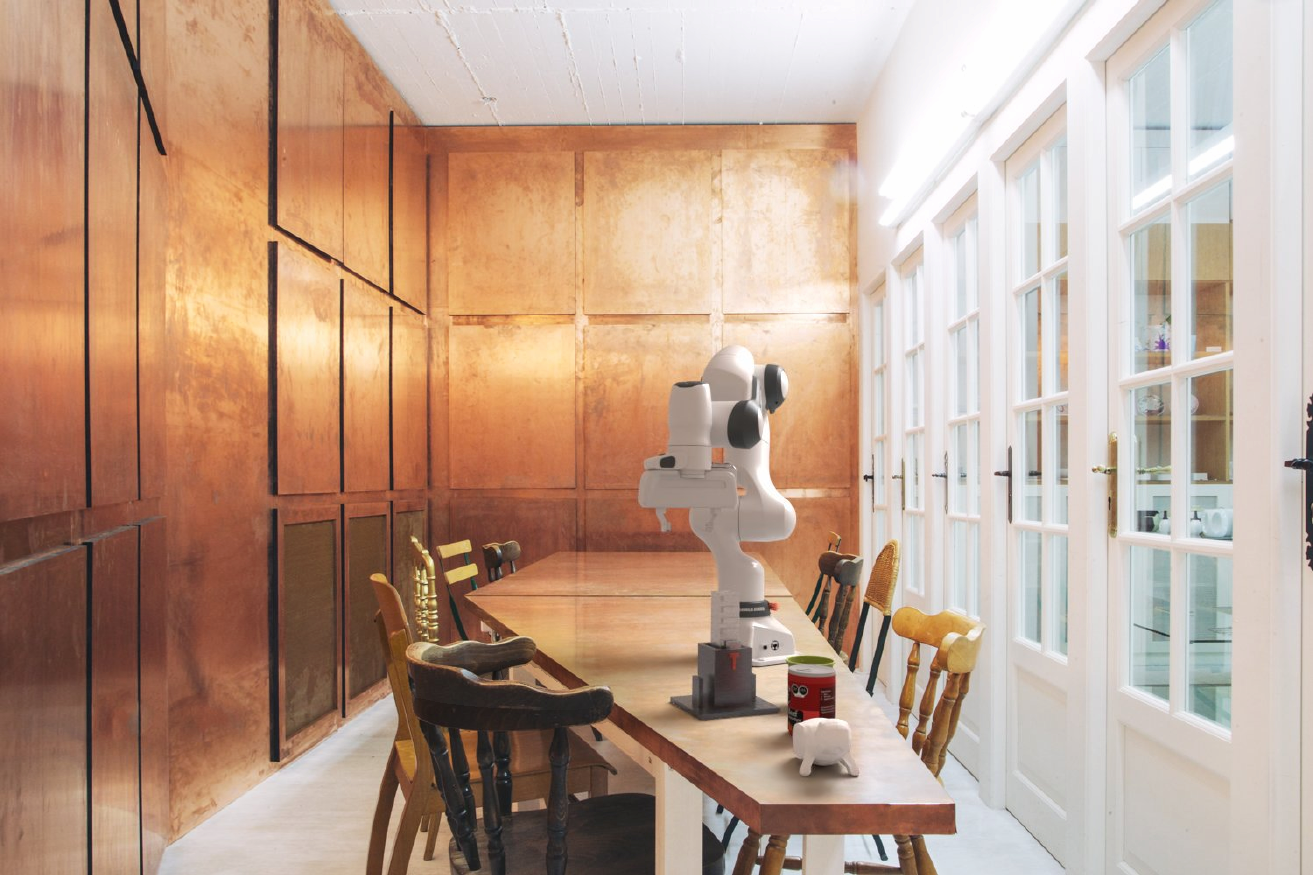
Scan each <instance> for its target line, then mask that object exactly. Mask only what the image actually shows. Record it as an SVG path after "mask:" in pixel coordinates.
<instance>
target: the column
mask: <svg viewBox="0 0 1313 875" xmlns="http://www.w3.org/2000/svg"><path fill="white" fill-rule="evenodd" d="M734 640H738V641H739V593H738V592H735V591H731V590H724V591H718V590H711V591H710V642H711V644H710V646H711V647H713V648H715V649H726V641H734Z"/></svg>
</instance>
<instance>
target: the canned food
mask: <svg viewBox="0 0 1313 875" xmlns="http://www.w3.org/2000/svg"><path fill="white" fill-rule="evenodd" d="M836 673H837V672H836V669H835V668H834V667H833V668H831V667H828V666H823V665H815V664H798V665H792V666H790V667H788V666H787V731H788V734H789V735H790V736H791V737H793V728H794V725H795V724H796V723H801V722H803V721H806V720H809V719H814V718H826V719H836V715H837V714H836V701H837V698H836V697H837V696H836V694H837V689H836V688H837V682H836V681H837V679H836V677H837V676H836Z"/></svg>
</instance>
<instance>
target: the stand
mask: <svg viewBox="0 0 1313 875" xmlns="http://www.w3.org/2000/svg"><path fill="white" fill-rule="evenodd" d="M710 644H711V641H710V642H698V643H697V674H694V675H692V678H691V679H692V683H691V689H692V690H691V692H692V693H691V694H687V695H676V696H670V699H669V700H670V701H669V702H670V703H671V704H673V703H674V704H675V706H676V705H677V706H676V707H678V708H679V707H680V708H679V709H681V710H683V711H684V710H685V712H686V713H687V712H688V713H687V714H689V715H691V716H693V717H694V718H695V719H697V720H698V721H711V720H719V718H723V719H731V718H730V717H734V718H742V717H752V716H764V715H773V714H780V713H781V707H780V706H777V705H776V704H774V703H772V702H769V701H767V700H765V699H764V698H761V697H759V696H757V674H756V673H753V666H752V648H751V647H748V646H746V645H743V644H741V641H738V640H734V641H726V649H715V648H713V647H711V646H710ZM674 704H673V705H674Z"/></svg>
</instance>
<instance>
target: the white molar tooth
mask: <svg viewBox="0 0 1313 875" xmlns="http://www.w3.org/2000/svg"><path fill="white" fill-rule="evenodd" d="M852 745H853V738H852V730H851V726H850V725H849V723H848V722H847V721H845V720H842V719H838V718H835V719H826V718H814V719H809V720H806V721H803V722H801V723H796V724H795V725H794V728H793V736H792V746H793V749H792V750H793V752H794V756H795V757H796V758H797V759H801V760H802V762H801V764H800V766H799V775H800V776H801V777H809V775H810V774H811V773H812V765H813V764H814V765H817V766H820V767H821V766H822V767H824V766H827V767H828V766H832V765H835V764H837V763H840V764H841V765H843V766H844V767H845V768H846V771H847V773H848V774H849V775H851V776H852V777H858V776H860V768H859V767H858V764H857V763H856V761H855V759H854V757H853V755H852V753H851V748H852Z"/></svg>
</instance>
